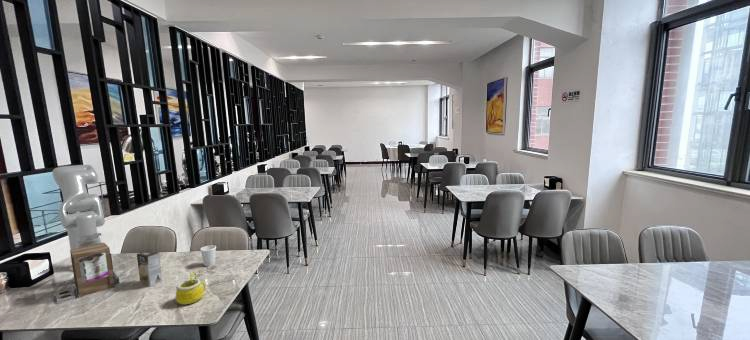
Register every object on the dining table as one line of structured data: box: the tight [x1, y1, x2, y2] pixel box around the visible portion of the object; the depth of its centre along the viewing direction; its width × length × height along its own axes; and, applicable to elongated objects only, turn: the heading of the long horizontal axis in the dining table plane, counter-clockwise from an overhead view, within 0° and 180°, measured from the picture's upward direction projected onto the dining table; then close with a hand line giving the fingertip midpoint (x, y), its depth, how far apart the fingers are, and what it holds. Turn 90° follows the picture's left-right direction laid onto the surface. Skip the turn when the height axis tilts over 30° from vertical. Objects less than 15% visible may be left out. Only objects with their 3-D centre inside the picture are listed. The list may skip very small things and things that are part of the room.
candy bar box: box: [79, 253, 108, 283], centre depth 162 cm, size 11×5×16 cm, turn 168°
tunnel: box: [69, 242, 115, 298], centre depth 161 cm, size 13×13×21 cm
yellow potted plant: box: [175, 269, 207, 305], centre depth 148 cm, size 13×11×12 cm
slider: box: [74, 252, 120, 296], centre depth 166 cm, size 19×16×12 cm
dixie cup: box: [199, 245, 217, 267], centre depth 188 cm, size 8×8×10 cm
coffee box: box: [136, 249, 163, 287], centre depth 166 cm, size 9×6×16 cm
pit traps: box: [54, 288, 76, 305], centre depth 154 cm, size 12×6×1 cm, turn 49°
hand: (93, 271), depth 171 cm, fingers closed
